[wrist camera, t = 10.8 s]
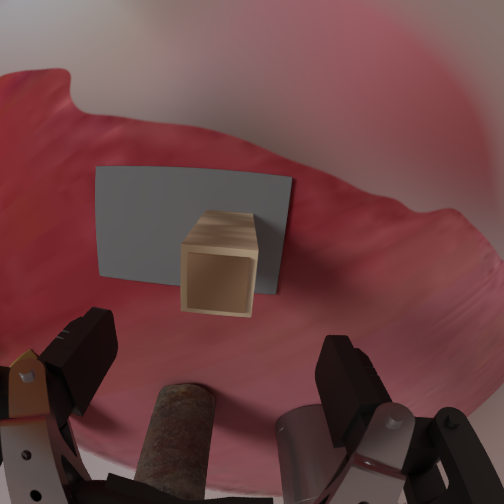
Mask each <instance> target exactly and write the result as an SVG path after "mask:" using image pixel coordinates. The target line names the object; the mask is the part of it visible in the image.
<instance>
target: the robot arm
mask: <svg viewBox="0 0 504 504" xmlns="http://www.w3.org/2000/svg"><path fill="white" fill-rule="evenodd" d="M117 351H118V342H117V336H116V330H115V324H114V317H113V313H112V311H111V310H107V309H102V308H97V307H92V308H91V309H90V310H89V311H88V312H87V313H86V314H85V315H84V316H83V317H79V318H77V319H75V320H73V321H71V322H70V323H69V324H68V325H67V326H66V327H65V328H64V329H63V332H62V331H61V332H60V334H59V335H58V336H57V338H55V339H54V340H53V341H52V342H51V343H50V345H49V346H48V347H47V348H46V349H45V350H44V351H43V352H42V354H41V355H40V356H39V357H38V358H37V359H33V358H26V359H22V360H20V361H18V362H16V363H15V364H14V365H13V366H12V367H11V368H10V367H4V366H0V466H1V464H2V462H4V468H5V475H6V481H7V486H8V491H9V495H10V499H11V503H12V504H273V498H248V497H226V498H217V499H207V500H192V501H188V500H183V499H180V498H178V497H175V496H173V495H171V494H168V493H166V492H163V491H161V490H159V489H157V488H155V487H152V486H150V485H148V484H146V483H142V482H138V481H135V480H131V479H128V478H124V477H121V476H118V475H115V474H112V473H109V474H108V477H107V480H92V479H91V477H90V475H89V474H88V472H87V470H86V468H85V466H84V464H83V462H82V459H81V457H80V453H79V450H78V447H77V444H76V441H75V437H74V434H73V430H72V426H71V423H70V420H69V416H70V414H71V412H72V413H74V414H77V415H79V416H82V417H83V415H84V413H85V411H86V409H87V407H88V406H89V404H90V402H91V400H92V398H93V396H94V395H95V393H96V391H97V389H98V387H99V386H100V384H101V382H102V380H103V379H104V377H105V375H106V373H107V372H108V370H109V368H110V367H111V365H112V363H113V361H114V360H115V358H116V355H117ZM315 381H316V385H317V388H318V392H319V396H320V399H321V403H322V405H311V406H304V407H301V408H297V409H295V410H292V411H290V412H288V413H286V414H285V415H283V416H282V417H281V418H280V419H279V420H278V421H277V423H276V440H277V446H278V456H279V464H280V473H281V482H282V491H283V500H284V504H397V502H398V500H399V497H400V494H401V492H402V489H403V490H404V493H405V497H406V500H407V504H504V488H503V486H502V484H501V481H500V479H499V477H498V475H497V473H496V471H495V469H494V467H493V465H492V463H491V461H490V459H489V457H488V455H487V453H486V451H485V449H484V447H483V445H482V444H481V442H480V440H479V438H478V436H477V435H476V433H475V431H474V429H473V428H472V426H471V424H470V422H469V421H468V419H467V417H466V416H465V415H464V414H463V413H462V412H461V411H460V410H458V409H456V408H453V407H445V408H442V409H440V410H439V411H438V413H437V414H436V415H435V417H434V418H424V417H414V415H413V413H412V412H411V411H410V410H409V409H408V408H407V407H405V406H404V405H402V404H399V403H395V402H392V400H391V398H390V396H389V394H388V392H387V390H386V388H385V387H384V385H383V383H382V381H381V379H380V377H379V375H377V372H376V370H375V368H373V364H372V363H371V361H370V359H369V357H368V356H367V355H366V354H365V353H364V352H362V351H361V350H360V349H359V348H354V347H353V345H352V343H351V341H350V339H349V337H348V336H346V335H327V336H326V338H325V340H324V343H323V346H322V349H321V353H320V356H319V359H318V362H317V365H316V369H315ZM440 460H441V463H442V465H443V467H444V470H445V472H446V475H447V477H448V480H449V485H448V489H446V487H445V484H444V481H443V479H442V476H441V474H440V471H439V469H438V466H437V463H438V462H439V461H440Z"/></svg>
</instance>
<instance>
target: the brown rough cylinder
mask: <svg viewBox="0 0 504 504" xmlns="http://www.w3.org/2000/svg"><path fill="white" fill-rule="evenodd" d="M215 404H216V399H215V397H213V396H212V395H211V394H210V393H209V392H208V391H207V390H206V389H204V388H203V387H199V386H197V385H190V384H181V385H169V386H165V387H163V388H162V389H161V391H160V392H159V395H158V398H157V401H156V404H155V407H154V410H153V414H152V416H151V420H150V424H149V427H148V430H147V434H146V437H145V441H144V444H143V448H142V451H141V455H140V458H139V462H138V466H137V470H136V473H135V477H134V480H135V481H138V482H142V483H146V484H148V485H150V486H152V487H155V488H157V489H159V490H161V491H163V492H166V493H168V494H171V495H173V496H175V497H178V498H180V499H183V500H188V501H192V500H204V497H205V485H206V477H207V468H208V459H209V451H210V443H211V436H212V429H213V421H214V412H215Z"/></svg>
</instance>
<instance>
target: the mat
mask: <svg viewBox="0 0 504 504" xmlns="http://www.w3.org/2000/svg"><path fill="white" fill-rule="evenodd" d="M291 184H292V177H287V176H279V175H270V174H261V173H252V172H242V171H230V170H218V169H203V168H186V167H160V166H97V167H96V179H95V214H96V237H97V252H98V263H99V273H100V276H105V277H112V278H120V279H127V280H135V281H143V282H151V283H159V284H167V285H176V286H181V243H182V242H183V240H184V239H185V238H186V236H187V235H188V234H189V232H190V231H191V230H192V228H193V227H194V225H195V224H196V223H197V221H198V220H199V219H200V217H201V216H202V215H203V214H204V212H205V211H206V210H217V211H229V212H241V213H251V214H253V218H254V224H255V231H256V237H257V243H258V250H259V252H258V261H257V269H256V278H255V287H254V293H262V294H275V295H276V290H277V283H278V277H279V270H280V264H281V257H282V250H283V243H284V236H285V229H286V222H287V214H288V207H289V199H290V191H291Z"/></svg>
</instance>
